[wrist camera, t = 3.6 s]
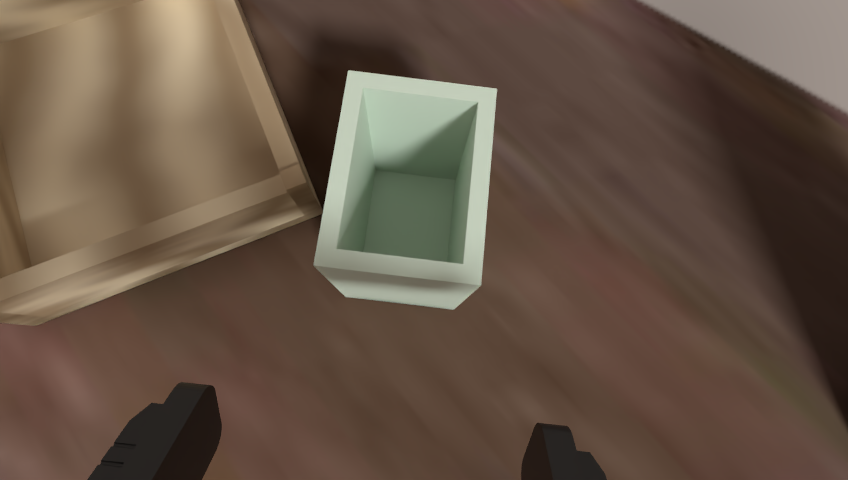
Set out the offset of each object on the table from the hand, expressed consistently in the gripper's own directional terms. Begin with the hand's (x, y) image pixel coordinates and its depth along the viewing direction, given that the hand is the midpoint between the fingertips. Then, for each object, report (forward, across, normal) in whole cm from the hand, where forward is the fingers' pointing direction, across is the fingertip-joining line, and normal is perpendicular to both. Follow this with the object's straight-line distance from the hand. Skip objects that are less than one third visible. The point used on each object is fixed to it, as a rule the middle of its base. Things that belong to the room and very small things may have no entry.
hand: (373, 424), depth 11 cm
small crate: (+15, 0, +3) cm, 15 cm away
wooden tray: (+18, +16, 0) cm, 24 cm away
